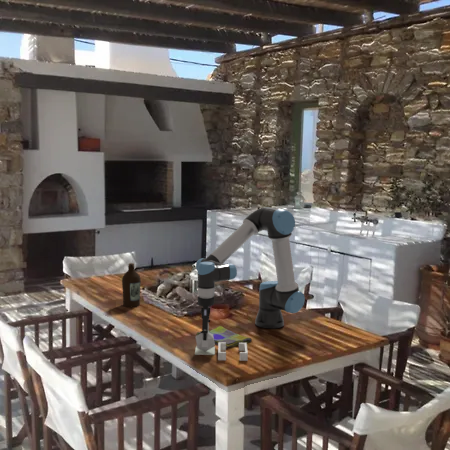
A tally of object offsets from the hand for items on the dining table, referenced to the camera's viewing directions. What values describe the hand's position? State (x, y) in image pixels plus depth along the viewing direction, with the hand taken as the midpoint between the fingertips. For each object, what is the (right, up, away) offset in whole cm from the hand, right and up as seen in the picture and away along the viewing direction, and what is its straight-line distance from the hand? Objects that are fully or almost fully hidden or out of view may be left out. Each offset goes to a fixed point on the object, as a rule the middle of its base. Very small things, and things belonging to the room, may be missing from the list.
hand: (205, 341), depth 259 cm
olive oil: (-45, +6, +71) cm, 84 cm away
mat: (0, -5, +1) cm, 5 cm away
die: (0, -5, -1) cm, 5 cm away
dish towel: (+8, -3, +18) cm, 21 cm away
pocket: (+12, -5, -3) cm, 14 cm away
